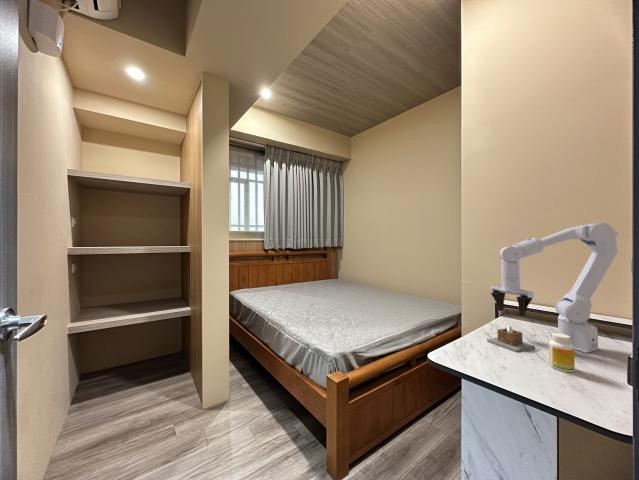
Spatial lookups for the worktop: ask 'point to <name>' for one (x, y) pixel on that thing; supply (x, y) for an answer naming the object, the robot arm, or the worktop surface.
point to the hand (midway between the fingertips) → (511, 312)
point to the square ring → (510, 337)
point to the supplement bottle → (561, 353)
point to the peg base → (513, 348)
